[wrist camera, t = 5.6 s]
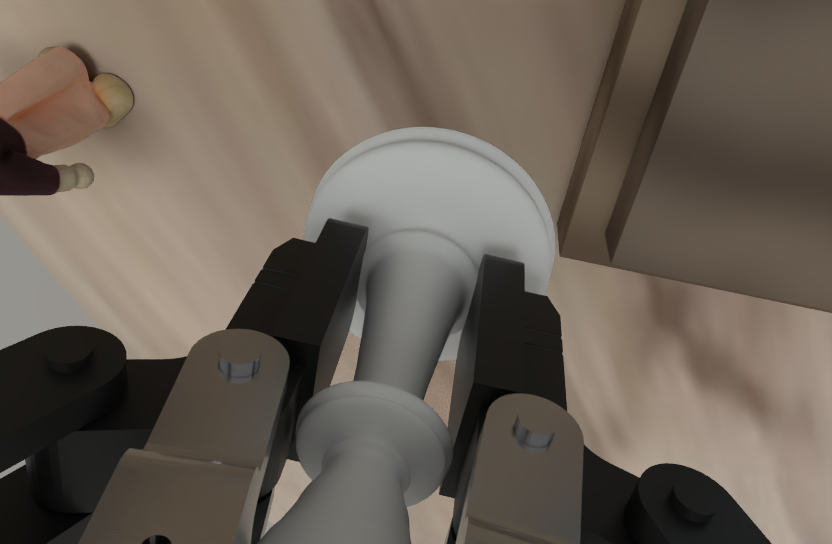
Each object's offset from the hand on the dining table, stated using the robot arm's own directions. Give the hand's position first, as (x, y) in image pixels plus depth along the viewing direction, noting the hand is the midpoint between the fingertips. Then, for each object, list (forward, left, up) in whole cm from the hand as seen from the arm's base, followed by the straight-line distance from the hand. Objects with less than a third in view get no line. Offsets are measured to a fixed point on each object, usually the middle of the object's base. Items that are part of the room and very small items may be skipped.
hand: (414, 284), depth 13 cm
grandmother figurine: (+6, -18, -20) cm, 27 cm away
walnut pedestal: (+1, +12, -19) cm, 23 cm away
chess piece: (0, 0, -2) cm, 2 cm away
